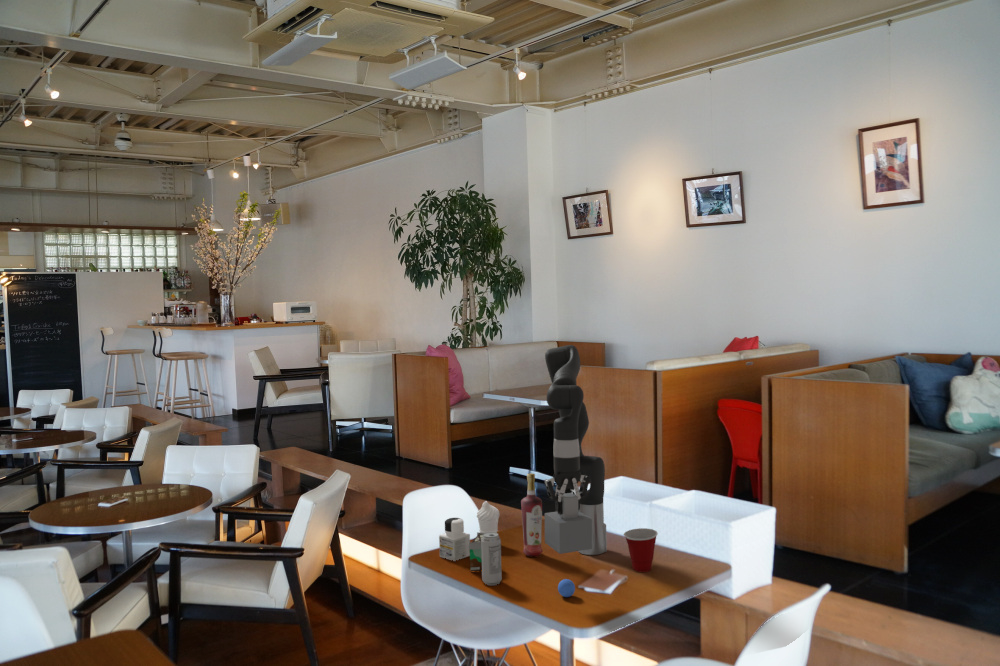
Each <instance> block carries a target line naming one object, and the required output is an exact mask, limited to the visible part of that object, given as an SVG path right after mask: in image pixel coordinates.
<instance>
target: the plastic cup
mask: <svg viewBox="0 0 1000 666" xmlns="http://www.w3.org/2000/svg"><path fill="white" fill-rule="evenodd" d="M658 534H659V533H658V531H657V530H654V529H652V528H643V527H642V528H641V527H640V528H633V529H629V530H627V531H625V532H624V533H623V536H624V538H625V540H626V544H627V547H628V551H629V557H630V560H631V566H632V570H633V571H634V572H638V573H648V572H650V571H651V570H652V569H653V568H652V567H653V566H652V565H653V560H654V554H655V546H656V540H657V536H658Z"/></svg>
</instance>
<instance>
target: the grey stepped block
mask: <svg viewBox="0 0 1000 666" xmlns="http://www.w3.org/2000/svg"><path fill="white" fill-rule="evenodd" d="M561 502H562V511H563V514H561V515H560V514H558V513H557V512H556V511H549V512H545V513H544V543H545V544H546V545H547V546H548V547H550V548H551V549H553V550H554V551H555V552H557V553H558V554H568V553H569V554H570V553H574V552H575V553H576V552H578V551H582V550H589V549H592V519H591V518H590V517H588V516H586V515H585V514H583V513H581V512H580V511H579V512H578V496H576V495H574V494H572V492H567V493H566V492H565V493H564V494H563V497H562V501H561Z"/></svg>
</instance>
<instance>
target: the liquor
mask: <svg viewBox="0 0 1000 666" xmlns="http://www.w3.org/2000/svg"><path fill="white" fill-rule="evenodd" d="M526 479H527V491H526V493H527V494H526V496H524V497H523V498H522V499H521V500H520V505H521V522H522V523H521V524H522V533H523V536H522V537H523V550H522V553H524V554H525V555H526V557H529V556H537V557H539V556H540V555H541V554H542V553H543V548H542V521H543V519H542V518H543V500H542V499H541V498H540V497H538V496H537V494H536V486H535V481H536V474H535V473H527V474H526Z"/></svg>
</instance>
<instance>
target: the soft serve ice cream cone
mask: <svg viewBox="0 0 1000 666" xmlns="http://www.w3.org/2000/svg"><path fill="white" fill-rule="evenodd" d="M476 514H477V515H476V518H477V520H478V525H479V533H489V532H494V533H497V532H498V531H499V529H498V523H499V518H500V511H499V509H498V508H497V507H495V506H494V505H492V504H490V503H489V502H488V501H487V500H485V501H484V502H482V505H481V508H480V509H479V510H478V511H477V513H476Z"/></svg>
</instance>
